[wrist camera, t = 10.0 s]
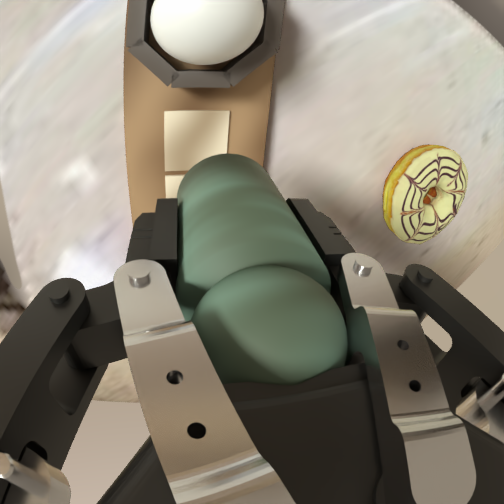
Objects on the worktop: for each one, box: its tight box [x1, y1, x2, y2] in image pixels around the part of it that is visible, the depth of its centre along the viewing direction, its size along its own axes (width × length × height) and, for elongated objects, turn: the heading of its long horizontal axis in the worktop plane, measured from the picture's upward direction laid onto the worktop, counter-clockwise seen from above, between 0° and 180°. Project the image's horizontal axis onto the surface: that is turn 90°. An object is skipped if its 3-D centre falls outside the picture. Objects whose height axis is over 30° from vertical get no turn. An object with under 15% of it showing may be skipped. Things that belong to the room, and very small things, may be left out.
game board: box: [124, 0, 285, 226], centre depth 19 cm, size 10×25×4 cm, turn 174°
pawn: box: [176, 153, 348, 386], centre depth 9 cm, size 4×4×9 cm
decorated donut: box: [383, 145, 468, 244], centre depth 27 cm, size 10×11×4 cm
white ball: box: [150, 0, 264, 65], centre depth 13 cm, size 6×6×6 cm
